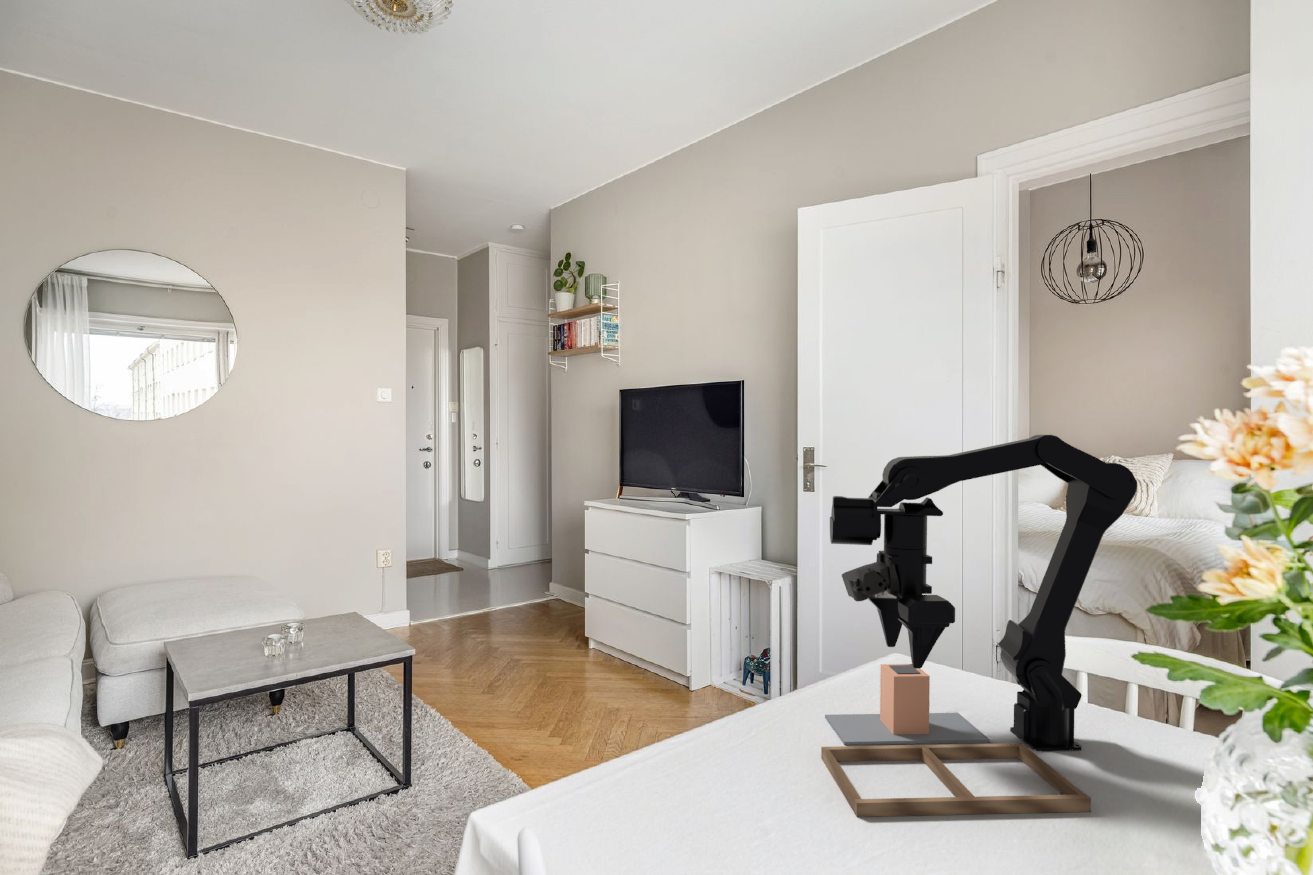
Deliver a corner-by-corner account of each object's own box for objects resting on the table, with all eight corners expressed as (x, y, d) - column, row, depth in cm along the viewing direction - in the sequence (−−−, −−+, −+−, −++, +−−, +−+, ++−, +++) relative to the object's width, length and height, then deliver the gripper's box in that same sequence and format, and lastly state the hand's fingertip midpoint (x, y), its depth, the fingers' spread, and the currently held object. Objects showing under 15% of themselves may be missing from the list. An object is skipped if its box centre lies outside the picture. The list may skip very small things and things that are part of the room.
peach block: (914, 718, 102) (914, 662, 102) (929, 733, 97) (929, 674, 97) (880, 719, 102) (880, 663, 102) (893, 734, 97) (893, 675, 97)
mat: (958, 715, 104) (958, 712, 104) (989, 742, 95) (989, 739, 95) (824, 717, 103) (824, 714, 103) (844, 744, 94) (844, 741, 94)
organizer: (1021, 754, 92) (1021, 743, 92) (1090, 811, 78) (1090, 797, 78) (821, 758, 90) (821, 746, 90) (856, 816, 77) (856, 802, 77)
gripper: (829, 536, 108) (827, 637, 108) (872, 558, 89) (870, 681, 89) (900, 536, 108) (898, 637, 109) (958, 558, 90) (956, 680, 90)
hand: (903, 656), depth 99 cm, fingers open, 9 cm apart
